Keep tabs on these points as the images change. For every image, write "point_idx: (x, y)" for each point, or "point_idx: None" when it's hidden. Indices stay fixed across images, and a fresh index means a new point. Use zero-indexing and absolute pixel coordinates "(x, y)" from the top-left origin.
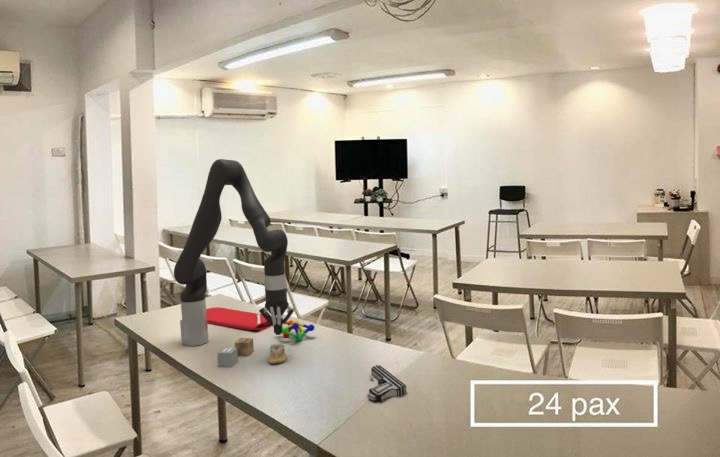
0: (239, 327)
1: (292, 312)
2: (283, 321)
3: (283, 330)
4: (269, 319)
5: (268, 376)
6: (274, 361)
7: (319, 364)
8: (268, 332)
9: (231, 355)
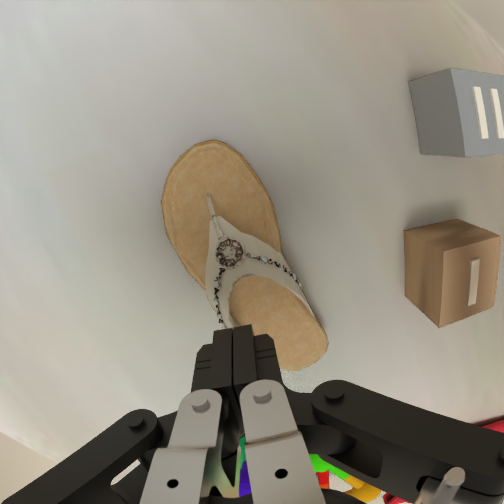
0: (489, 424)
1: (8, 500)
2: (135, 424)
3: (312, 455)
4: (340, 415)
5: (155, 19)
6: (192, 147)
7: (10, 234)
8: None
9: (442, 72)
